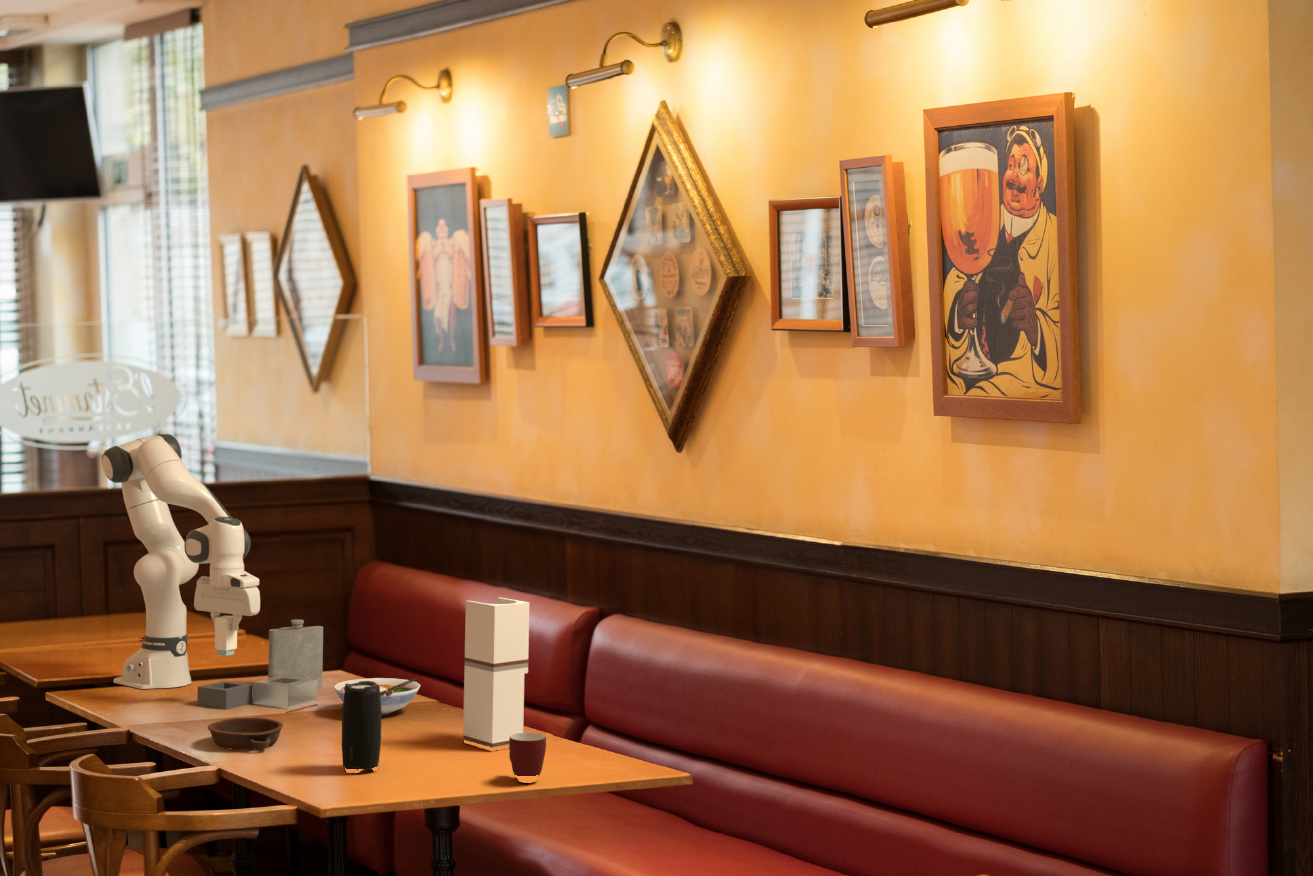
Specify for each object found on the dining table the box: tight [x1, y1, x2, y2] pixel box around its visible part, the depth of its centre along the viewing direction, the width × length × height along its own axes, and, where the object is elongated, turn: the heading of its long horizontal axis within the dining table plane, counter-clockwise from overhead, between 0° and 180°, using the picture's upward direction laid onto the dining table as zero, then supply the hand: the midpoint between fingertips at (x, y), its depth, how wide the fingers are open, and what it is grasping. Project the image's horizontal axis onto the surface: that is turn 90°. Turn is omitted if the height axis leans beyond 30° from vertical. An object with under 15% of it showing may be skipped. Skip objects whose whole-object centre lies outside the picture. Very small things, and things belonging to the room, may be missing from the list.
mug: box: [508, 732, 547, 776], centre depth 329 cm, size 11×8×10 cm
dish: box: [207, 717, 284, 750], centre depth 357 cm, size 18×22×5 cm
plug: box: [214, 615, 238, 657], centre depth 398 cm, size 4×4×10 cm
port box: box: [252, 675, 318, 714], centre depth 402 cm, size 12×12×7 cm
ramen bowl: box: [333, 677, 421, 717], centre depth 396 cm, size 25×23×8 cm
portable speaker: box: [341, 681, 382, 770], centre depth 335 cm, size 9×9×20 cm
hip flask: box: [267, 619, 324, 689], centre depth 425 cm, size 16×4×20 cm, turn 125°
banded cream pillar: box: [462, 597, 530, 748], centre depth 362 cm, size 11×11×35 cm
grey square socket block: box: [196, 680, 253, 711], centre depth 398 cm, size 10×10×6 cm
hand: (226, 629), depth 398 cm, fingers closed on plug, 4 cm apart
